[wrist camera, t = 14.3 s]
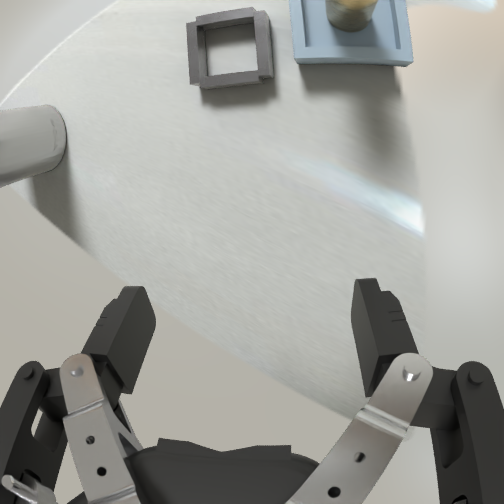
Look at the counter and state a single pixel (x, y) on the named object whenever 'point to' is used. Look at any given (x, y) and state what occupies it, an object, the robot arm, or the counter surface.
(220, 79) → the grey square holder
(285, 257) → the counter surface
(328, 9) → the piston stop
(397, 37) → the tray
